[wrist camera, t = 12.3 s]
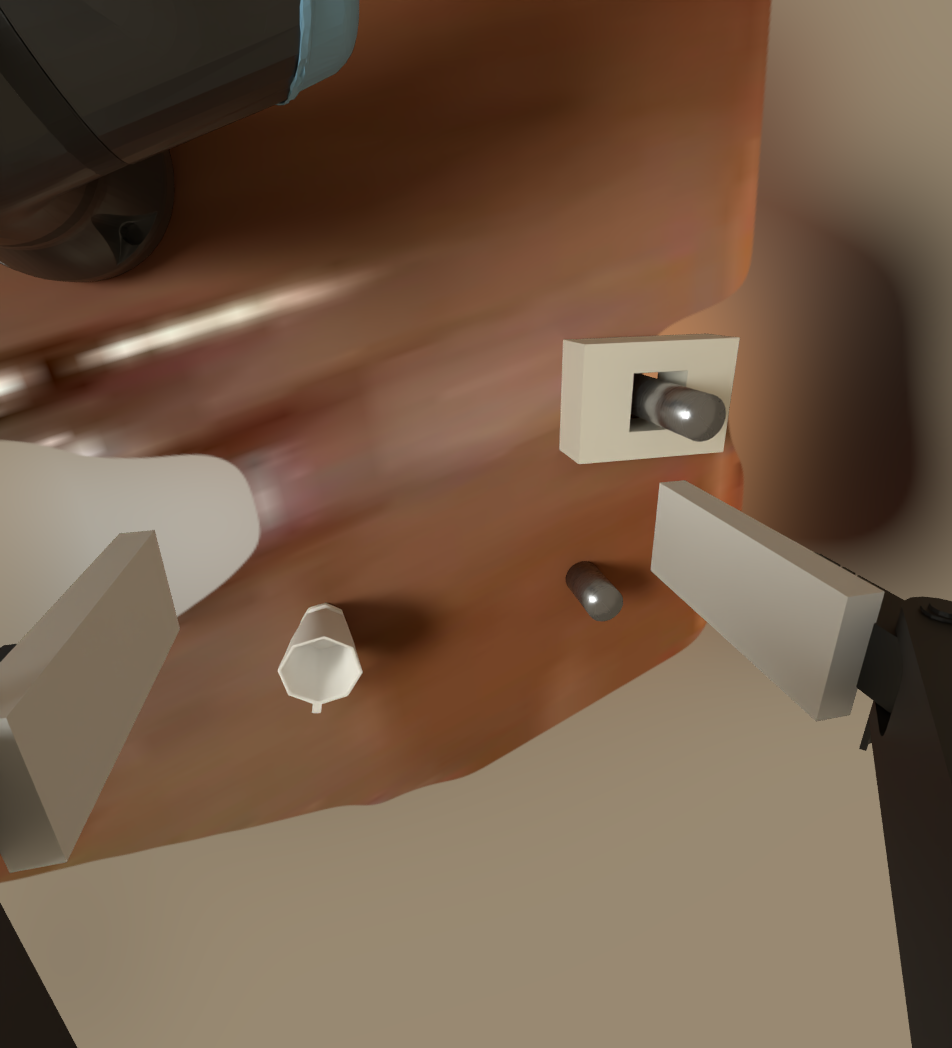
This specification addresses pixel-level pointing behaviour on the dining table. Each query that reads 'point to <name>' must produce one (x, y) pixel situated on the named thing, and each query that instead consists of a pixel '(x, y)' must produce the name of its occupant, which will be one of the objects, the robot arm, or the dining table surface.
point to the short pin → (594, 591)
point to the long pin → (677, 408)
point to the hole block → (606, 393)
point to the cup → (320, 658)
